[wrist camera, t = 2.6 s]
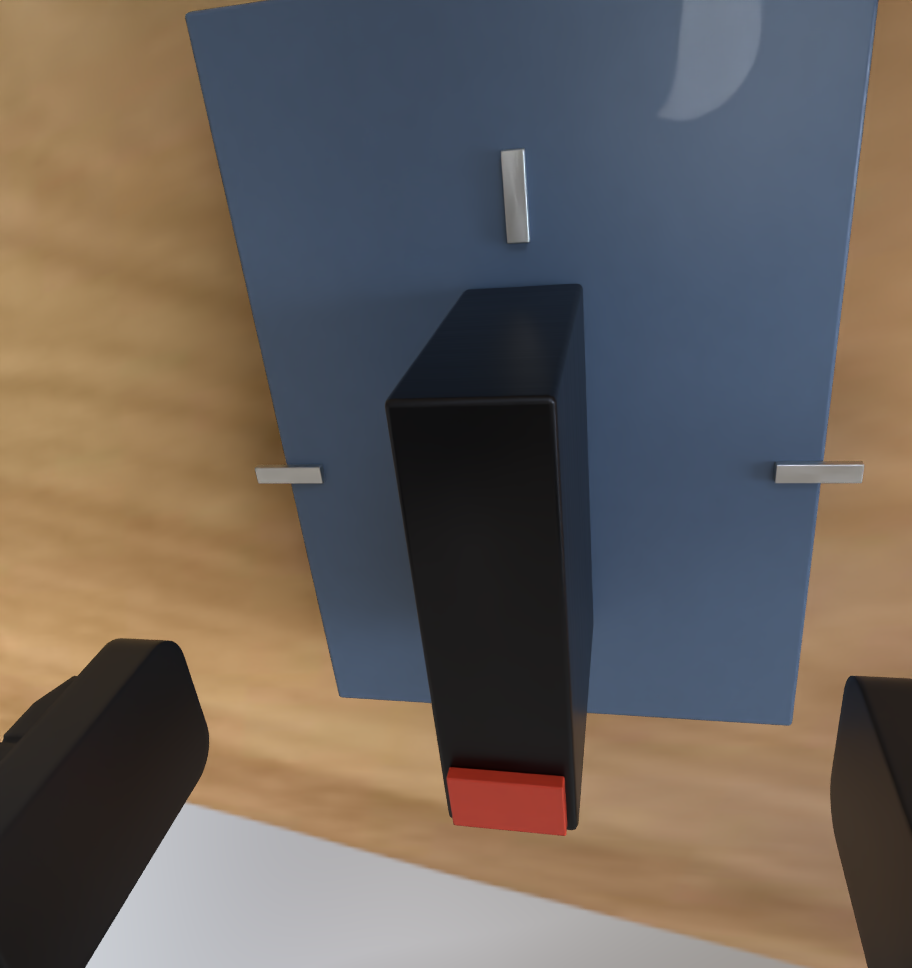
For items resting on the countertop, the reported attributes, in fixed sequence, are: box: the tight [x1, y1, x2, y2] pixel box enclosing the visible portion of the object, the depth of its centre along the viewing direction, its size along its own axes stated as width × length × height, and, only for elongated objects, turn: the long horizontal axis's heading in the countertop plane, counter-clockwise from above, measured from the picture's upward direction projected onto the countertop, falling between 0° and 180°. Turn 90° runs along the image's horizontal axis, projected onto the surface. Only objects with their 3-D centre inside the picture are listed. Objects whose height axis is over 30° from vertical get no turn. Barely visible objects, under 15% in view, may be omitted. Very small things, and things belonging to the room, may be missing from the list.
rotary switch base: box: [185, 0, 878, 725], centre depth 16 cm, size 14×11×3 cm
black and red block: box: [385, 284, 594, 836], centre depth 13 cm, size 7×2×5 cm, turn 6°
